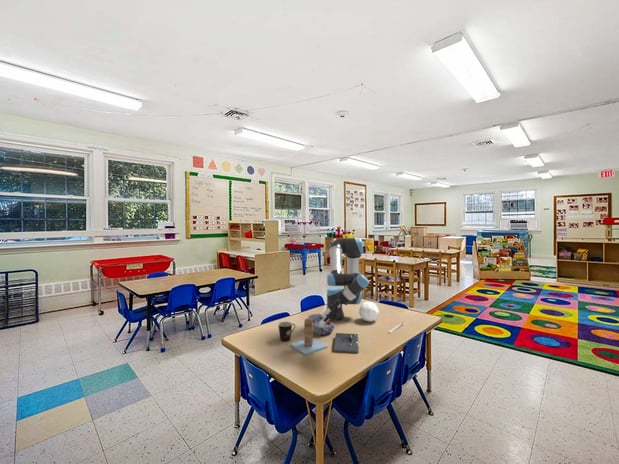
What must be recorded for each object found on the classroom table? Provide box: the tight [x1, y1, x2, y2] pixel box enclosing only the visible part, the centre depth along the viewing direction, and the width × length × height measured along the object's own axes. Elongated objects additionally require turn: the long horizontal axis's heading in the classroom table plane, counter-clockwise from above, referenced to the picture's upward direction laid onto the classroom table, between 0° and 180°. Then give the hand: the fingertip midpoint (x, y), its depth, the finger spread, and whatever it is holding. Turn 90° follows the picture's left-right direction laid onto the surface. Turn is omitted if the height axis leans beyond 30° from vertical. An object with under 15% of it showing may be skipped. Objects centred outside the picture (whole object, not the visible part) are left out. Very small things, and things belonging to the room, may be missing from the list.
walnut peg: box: [303, 318, 314, 347], centre depth 173 cm, size 4×4×15 cm
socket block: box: [333, 332, 360, 354], centre depth 176 cm, size 20×14×3 cm
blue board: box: [289, 338, 328, 356], centre depth 174 cm, size 16×16×1 cm
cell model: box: [307, 313, 335, 336], centre depth 198 cm, size 13×11×20 cm
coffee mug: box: [277, 321, 296, 342], centre depth 185 cm, size 12×9×10 cm
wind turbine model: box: [388, 321, 404, 334], centre depth 207 cm, size 16×2×30 cm
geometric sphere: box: [358, 301, 380, 323], centre depth 218 cm, size 14×15×15 cm
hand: (321, 320), depth 172 cm, fingers open, 13 cm apart
